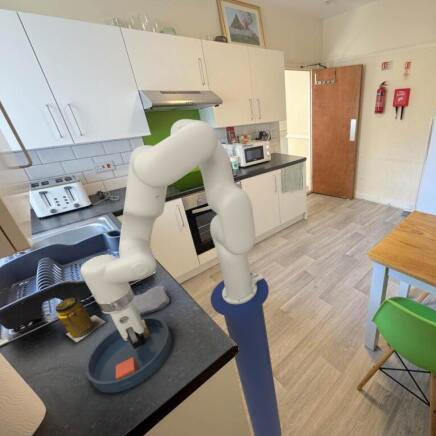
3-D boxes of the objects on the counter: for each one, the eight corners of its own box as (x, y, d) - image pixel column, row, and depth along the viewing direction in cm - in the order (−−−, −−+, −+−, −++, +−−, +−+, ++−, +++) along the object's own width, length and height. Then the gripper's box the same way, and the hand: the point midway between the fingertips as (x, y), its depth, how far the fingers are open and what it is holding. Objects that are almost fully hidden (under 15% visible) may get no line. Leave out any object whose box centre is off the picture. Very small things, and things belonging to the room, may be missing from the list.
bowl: (163, 315, 82) (159, 307, 80) (180, 358, 68) (176, 349, 66) (91, 351, 71) (85, 343, 69) (93, 411, 57) (86, 402, 55)
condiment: (66, 334, 77) (47, 307, 72) (94, 315, 84) (79, 289, 79) (77, 343, 74) (58, 315, 69) (106, 322, 81) (90, 296, 76)
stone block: (173, 307, 88) (165, 288, 94) (169, 299, 85) (161, 281, 91) (136, 325, 82) (131, 304, 88) (131, 318, 79) (126, 297, 85)
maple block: (147, 327, 77) (143, 319, 76) (150, 335, 74) (146, 327, 73) (134, 335, 75) (129, 326, 73) (136, 343, 72) (131, 335, 70)
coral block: (138, 365, 66) (133, 356, 64) (139, 378, 63) (134, 368, 61) (121, 374, 64) (115, 365, 62) (121, 387, 61) (115, 378, 59)
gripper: (137, 307, 60) (159, 354, 68) (128, 278, 70) (148, 321, 78) (101, 324, 55) (129, 371, 64) (97, 290, 66) (122, 335, 74)
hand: (139, 344), depth 71 cm, fingers closed
